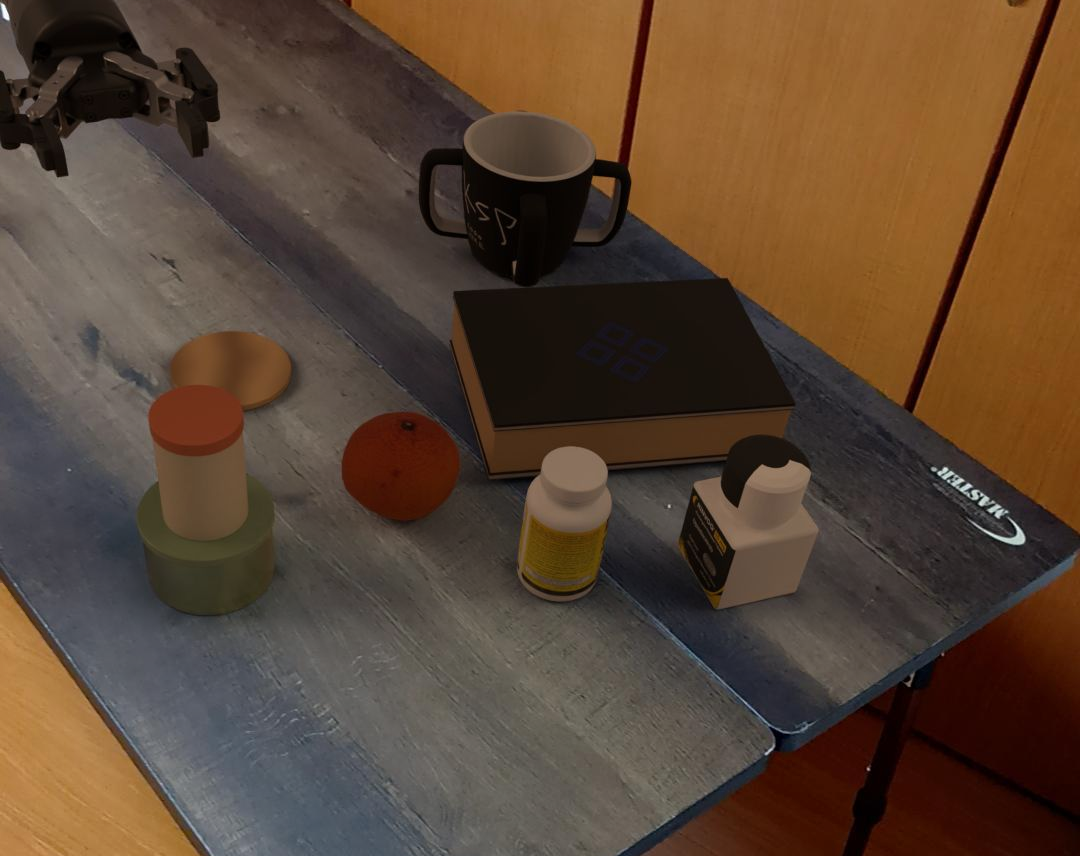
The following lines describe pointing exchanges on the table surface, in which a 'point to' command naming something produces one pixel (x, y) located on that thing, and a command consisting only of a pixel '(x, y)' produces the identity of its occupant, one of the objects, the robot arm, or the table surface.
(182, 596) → the tin
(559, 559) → the pill bottle
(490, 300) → the book
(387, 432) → the fruit
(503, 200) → the mug
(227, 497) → the canister
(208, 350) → the coaster
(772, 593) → the medicine bottle
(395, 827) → the table surface
